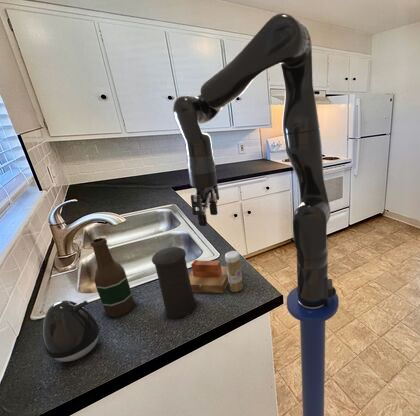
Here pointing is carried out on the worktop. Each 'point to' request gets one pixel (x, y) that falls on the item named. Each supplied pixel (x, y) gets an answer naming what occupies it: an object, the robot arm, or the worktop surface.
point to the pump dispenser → (69, 331)
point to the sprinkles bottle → (234, 271)
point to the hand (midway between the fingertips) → (209, 219)
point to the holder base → (210, 282)
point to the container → (174, 281)
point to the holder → (206, 268)
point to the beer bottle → (111, 281)
